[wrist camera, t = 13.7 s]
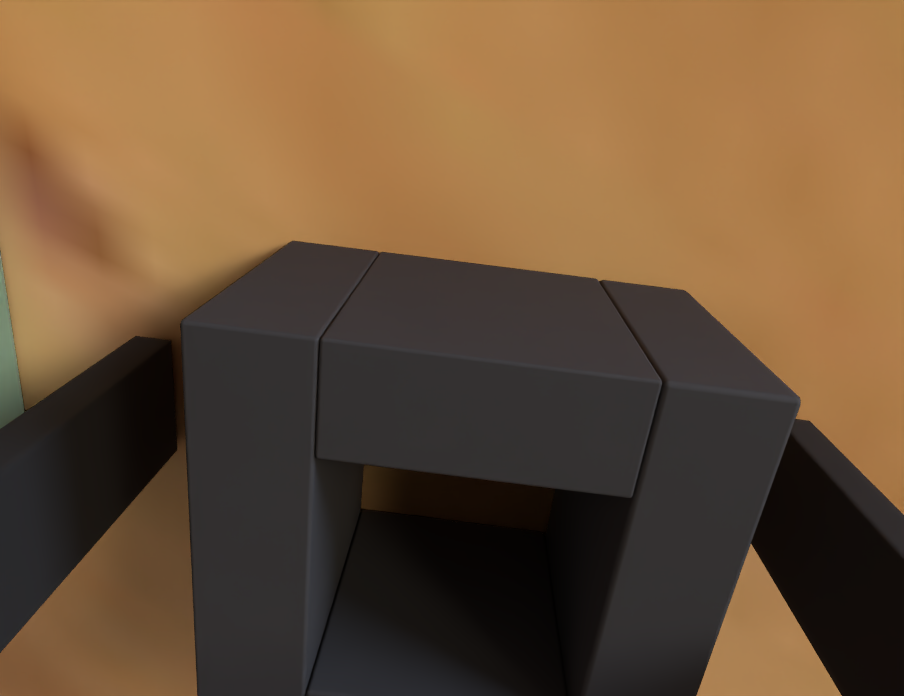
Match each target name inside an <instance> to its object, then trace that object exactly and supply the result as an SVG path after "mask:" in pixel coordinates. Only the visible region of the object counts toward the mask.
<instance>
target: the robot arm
mask: <svg viewBox="0 0 904 696" xmlns="http://www.w3.org/2000/svg"><path fill="white" fill-rule="evenodd" d="M176 451H177V438H176V421H175V403H174V386H173V368H172V351H171V340H163V339H155V338H148V337H140V336H135V337H134V338H132V339H131V340H129V341H128V342H126V343H125V344H123V345H122V346H121V347H119V348H118V349H116V350H115V351H113V352H112V353H110V354H109V355H107V356H106V357H104V358H103V359H102V360H100V361H99V362H97V363H96V364H94V365H93V366H91V367H90V368H88V369H87V370H85V371H84V372H83V373H81V374H80V375H78V376H77V377H75V378H74V379H72V380H71V381H69V382H68V383H67V384H65V385H64V386H62V387H61V388H59V389H58V390H56V391H55V392H53V393H52V394H50V395H49V396H48V397H46V398H45V399H43V400H42V401H40V402H39V403H37V404H36V405H34V406H33V407H31V408H30V409H29V410H27V411H26V412H24V413H23V414H21V415H20V416H18V417H17V418H15V419H14V420H13V421H11V422H10V423H8V424H7V425H5V426H4V427H2V428H1V429H0V653H1V651H2V650H3V649H4V648H5V647H6V646H7V645H8V643H9V642H10V641H11V640H12V639H13V638H14V637H15V635H16V634H17V633H18V632H19V631H20V630H21V629H22V627H23V626H24V625H25V624H26V623H27V622H28V620H29V619H30V618H31V617H32V616H33V615H34V614H35V612H36V611H37V610H38V609H39V608H40V607H41V606H42V604H43V603H44V602H45V601H46V600H47V599H48V598H49V596H50V595H51V594H52V593H53V592H54V591H55V590H56V588H57V587H58V586H59V585H60V584H61V583H62V582H63V580H64V579H65V578H66V577H67V576H68V575H69V573H70V572H71V571H72V570H73V569H74V568H75V567H76V565H77V564H78V563H79V562H80V561H81V560H82V559H83V557H84V556H85V555H86V554H87V553H88V552H89V551H90V549H91V548H92V547H93V546H94V545H95V544H96V543H97V541H98V540H99V539H100V538H101V537H102V536H103V534H104V533H105V532H106V531H107V530H108V529H109V528H110V526H111V525H112V524H113V523H114V522H115V521H116V520H117V518H118V517H119V516H120V515H121V514H122V513H123V512H124V510H125V509H126V508H127V507H128V506H129V505H130V504H131V502H132V501H133V500H134V499H135V498H136V497H137V496H138V494H139V493H140V492H141V491H142V490H143V489H144V487H145V486H146V485H147V484H148V483H149V482H150V481H151V479H152V478H153V477H154V476H155V475H156V474H157V473H158V471H159V470H160V469H161V468H162V467H163V466H164V465H165V463H166V462H167V461H168V460H169V459H170V458H171V457H172V455H173V454H174V453H175V452H176ZM751 544H752V545H753V547H754V549H755V551H756V552H757V554H758V556H759V557H760V559H761V561H762V562H763V564H764V566H765V567H766V569H767V571H768V572H769V574H770V576H771V577H772V579H773V581H774V582H775V584H776V586H777V587H778V589H779V591H780V593H781V594H782V596H783V598H784V599H785V601H786V603H787V604H788V606H789V608H790V609H791V611H792V613H793V614H794V616H795V618H796V619H797V621H798V623H799V624H800V626H801V628H802V629H803V631H804V633H805V635H806V636H807V638H808V640H809V641H810V643H811V645H812V646H813V648H814V650H815V651H816V653H817V655H818V656H819V658H820V660H821V661H822V663H823V665H824V666H825V668H826V670H827V671H828V673H829V675H830V677H831V678H832V680H833V682H834V683H835V685H836V687H837V688H838V690H839V692H840V693H841V695H842V696H904V515H903V514H902V513H901V512H900V511H899V510H898V509H897V508H896V507H895V506H894V505H893V504H892V503H891V502H890V501H889V500H888V499H887V498H886V497H885V496H884V495H883V494H882V493H881V492H880V491H879V490H878V489H877V488H876V487H875V486H874V485H873V484H872V483H871V482H870V481H869V480H868V479H867V478H866V477H865V476H864V475H863V474H862V473H861V472H860V471H859V470H858V469H857V468H856V467H855V466H854V465H853V464H852V463H851V462H850V461H849V460H848V459H847V458H846V457H845V456H844V455H843V454H842V453H841V452H840V451H839V450H838V449H837V448H836V447H835V446H834V445H833V444H832V443H831V442H830V441H829V440H828V439H827V438H826V437H825V436H824V435H823V434H822V433H821V432H820V431H819V430H818V429H817V428H816V427H815V426H814V425H813V424H812V423H811V422H810V421H807V420H799V419H795V421H794V424H793V427H792V430H791V432H790V435H789V438H788V441H787V443H786V446H785V449H784V452H783V455H782V457H781V460H780V463H779V466H778V469H777V471H776V474H775V477H774V480H773V483H772V485H771V488H770V491H769V494H768V497H767V499H766V502H765V505H764V508H763V511H762V513H761V516H760V519H759V522H758V525H757V527H756V530H755V533H754V536H753V539H752V541H751Z"/></svg>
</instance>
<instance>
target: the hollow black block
mask: <svg viewBox="0 0 904 696" xmlns="http://www.w3.org/2000/svg"><path fill="white" fill-rule="evenodd" d="M180 328H181V350H182V372H183V393H184V415H185V436H186V458H187V479H188V501H189V522H190V544H191V566H192V587H193V609H194V630H195V652H196V673H197V695H198V696H696V695H697V692H698V689H699V687H700V684H701V681H702V678H703V676H704V673H705V670H706V667H707V664H708V662H709V659H710V656H711V653H712V650H713V648H714V645H715V642H716V639H717V636H718V634H719V631H720V628H721V625H722V622H723V620H724V617H725V614H726V611H727V608H728V606H729V603H730V600H731V597H732V594H733V592H734V589H735V586H736V583H737V580H738V578H739V575H740V572H741V569H742V566H743V564H744V561H745V558H746V555H747V553H748V550H749V547H750V544H751V541H752V539H753V536H754V533H755V530H756V527H757V525H758V522H759V519H760V516H761V513H762V511H763V508H764V505H765V502H766V499H767V497H768V494H769V491H770V488H771V485H772V483H773V480H774V477H775V474H776V471H777V469H778V466H779V463H780V460H781V457H782V455H783V452H784V449H785V446H786V443H787V441H788V438H789V435H790V432H791V430H792V427H793V424H794V421H795V418H796V416H797V413H798V410H799V407H800V397H798V396H797V395H796V394H795V393H794V392H793V391H792V390H791V389H790V388H789V387H788V386H787V385H786V384H785V383H784V382H782V381H781V380H780V379H779V378H778V377H777V376H776V375H775V374H774V373H773V372H772V371H771V370H770V369H769V368H768V367H766V366H765V365H764V364H763V363H762V362H761V361H760V360H759V359H758V358H757V357H756V356H755V355H754V354H753V353H752V352H750V351H749V350H748V349H747V348H746V347H745V346H744V345H743V344H742V343H741V342H740V341H739V340H738V339H737V338H735V337H734V336H733V335H732V334H731V333H730V332H729V331H728V330H727V329H726V328H725V327H724V326H723V325H722V324H721V323H719V322H718V321H717V320H716V319H715V318H714V317H713V316H712V315H711V314H710V313H709V312H708V311H707V310H706V309H705V308H703V307H702V306H701V305H700V304H699V303H698V302H697V301H696V300H695V299H694V298H693V297H692V296H691V295H690V294H689V293H687V292H686V291H684V290H678V289H670V288H662V287H654V286H646V285H638V284H630V283H622V282H614V281H606V280H602V281H598V280H597V279H594V278H586V277H578V276H570V275H562V274H554V273H546V272H538V271H530V270H522V269H514V268H506V267H498V266H490V265H482V264H474V263H466V262H458V261H450V260H442V259H435V258H427V257H419V256H411V255H403V254H395V253H387V252H381V253H380V254H379V253H378V252H377V251H370V250H362V249H354V248H346V247H338V246H330V245H322V244H314V243H306V242H298V241H291V242H290V243H288V244H287V245H286V246H284V247H283V248H281V249H280V250H279V251H277V252H276V253H275V254H273V255H272V256H270V257H269V258H268V259H266V260H265V261H263V262H262V263H261V264H259V265H258V266H256V267H255V268H254V269H252V270H251V271H249V272H248V273H247V274H245V275H244V276H242V277H241V278H240V279H238V280H237V281H236V282H234V283H233V284H231V285H230V286H229V287H227V288H226V289H224V290H223V291H222V292H220V293H219V294H217V295H216V296H215V297H213V298H212V299H210V300H209V301H208V302H206V303H205V304H204V305H202V306H201V307H199V308H198V309H197V310H195V311H194V312H192V313H191V314H190V315H188V316H187V317H185V318H184V319H183V320H182V321H181V323H180ZM364 465H372V466H379V467H387V468H395V469H403V470H411V471H419V472H427V473H435V474H443V475H451V476H459V477H466V478H474V479H482V480H490V481H498V482H506V483H514V484H522V485H530V486H538V487H546V488H554V489H555V492H554V497H553V501H552V506H551V511H550V516H549V521H548V525H547V530H546V535H545V534H544V533H543V532H537V531H529V530H521V529H513V528H505V527H498V526H490V525H482V524H474V523H466V522H458V521H450V520H442V519H434V518H426V517H419V516H411V515H403V514H395V513H387V512H379V511H371V510H362V511H361V512H360V508H361V495H362V482H363V468H364Z"/></svg>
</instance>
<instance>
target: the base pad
mask: <svg viewBox="0 0 904 696" xmlns="http://www.w3.org/2000/svg"><path fill="white" fill-rule="evenodd" d="M24 412H25V410H24V404H23V397H22V391H21V384H20V377H19V371H18V364H17V358H16V351H15V344H14V338H13V331H12V325H11V318H10V311H9V305H8V298H7V292H6V285H5V279H4V272H3V265H2V259H1V252H0V429H1V428H2V427H4V426H5V425H7V424H8V423H10V422H11V421H13V420H14V419H15V418H17V417H18V416H20V415H21V414H23V413H24Z"/></svg>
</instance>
